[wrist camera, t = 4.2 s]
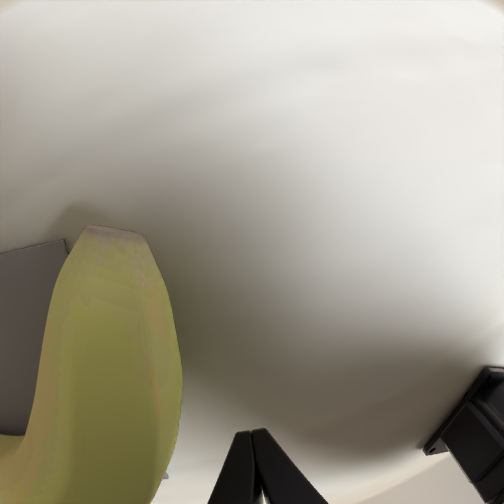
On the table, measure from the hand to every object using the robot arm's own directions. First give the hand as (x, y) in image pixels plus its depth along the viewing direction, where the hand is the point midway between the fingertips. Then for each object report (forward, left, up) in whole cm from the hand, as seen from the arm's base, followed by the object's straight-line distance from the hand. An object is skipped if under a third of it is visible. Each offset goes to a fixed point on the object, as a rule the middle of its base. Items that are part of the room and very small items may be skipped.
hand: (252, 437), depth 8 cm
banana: (+10, +5, -3) cm, 12 cm away
